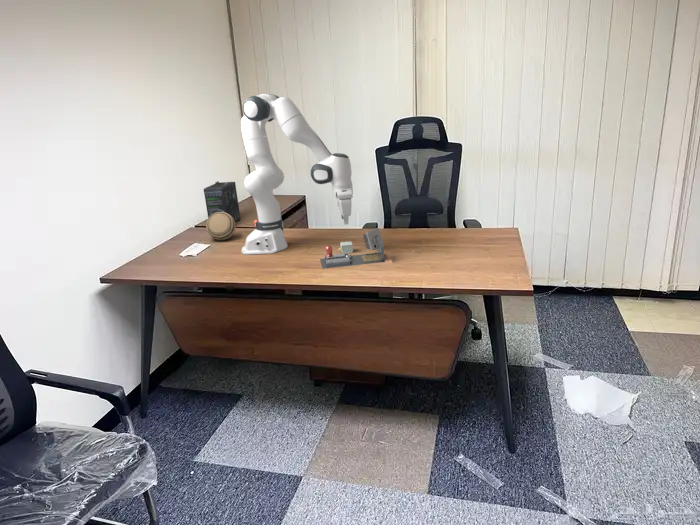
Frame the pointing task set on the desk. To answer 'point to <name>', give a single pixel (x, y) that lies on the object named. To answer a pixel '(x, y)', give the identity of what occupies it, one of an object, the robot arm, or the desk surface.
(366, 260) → the press
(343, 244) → the block
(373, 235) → the electrical switch
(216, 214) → the mechanical component
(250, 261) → the desk surface
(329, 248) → the ram
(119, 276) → the desk surface
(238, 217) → the headset box
